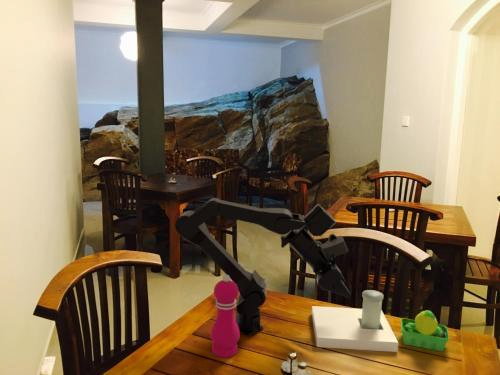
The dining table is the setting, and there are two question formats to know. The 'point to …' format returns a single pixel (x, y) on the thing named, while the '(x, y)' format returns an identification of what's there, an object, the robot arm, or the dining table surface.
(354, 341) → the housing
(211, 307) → the dining table surface
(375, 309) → the grey cylinder
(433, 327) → the fruit basket
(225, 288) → the pepper mill
